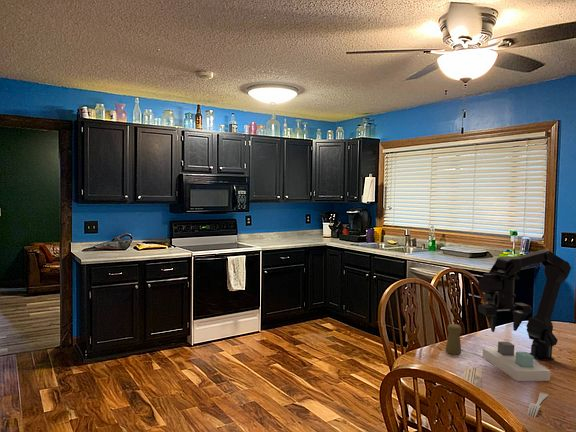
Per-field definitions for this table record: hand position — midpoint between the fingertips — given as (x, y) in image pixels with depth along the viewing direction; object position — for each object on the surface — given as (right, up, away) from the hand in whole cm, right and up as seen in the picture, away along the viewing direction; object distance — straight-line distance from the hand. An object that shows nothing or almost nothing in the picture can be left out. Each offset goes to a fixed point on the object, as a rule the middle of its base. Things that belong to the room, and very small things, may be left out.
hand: (503, 331), depth 167 cm
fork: (-6, -14, -33) cm, 37 cm away
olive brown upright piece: (-15, -11, +10) cm, 22 cm away
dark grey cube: (+1, -9, 0) cm, 9 cm away
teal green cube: (+2, -9, -11) cm, 14 cm away
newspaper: (-20, -13, -19) cm, 31 cm away
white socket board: (+1, -12, -5) cm, 13 cm away
